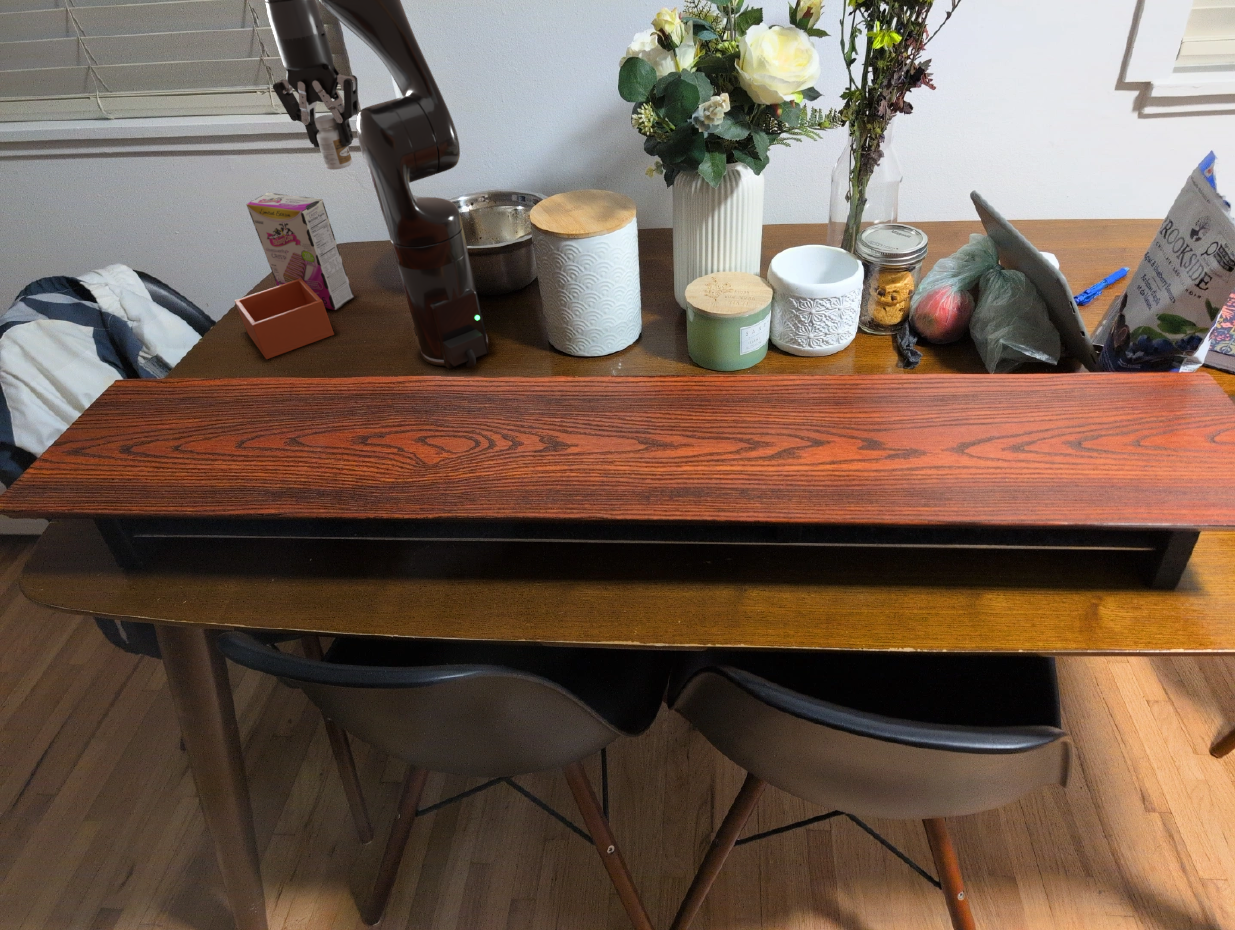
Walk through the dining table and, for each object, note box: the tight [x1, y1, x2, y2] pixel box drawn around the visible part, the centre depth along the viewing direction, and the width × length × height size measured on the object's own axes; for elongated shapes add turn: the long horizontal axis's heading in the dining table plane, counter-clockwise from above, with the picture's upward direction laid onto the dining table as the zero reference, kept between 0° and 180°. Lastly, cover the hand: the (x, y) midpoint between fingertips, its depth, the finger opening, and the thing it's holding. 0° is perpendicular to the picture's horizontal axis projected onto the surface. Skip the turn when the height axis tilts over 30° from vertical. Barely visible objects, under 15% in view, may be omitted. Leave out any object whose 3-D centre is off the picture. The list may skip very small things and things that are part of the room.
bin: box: [233, 278, 335, 360], centre depth 125 cm, size 10×10×6 cm
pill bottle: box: [314, 113, 353, 171], centre depth 138 cm, size 4×4×8 cm
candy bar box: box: [245, 192, 354, 311], centre depth 130 cm, size 11×5×16 cm, turn 65°
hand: (333, 145), depth 139 cm, fingers closed on pill bottle, 4 cm apart
